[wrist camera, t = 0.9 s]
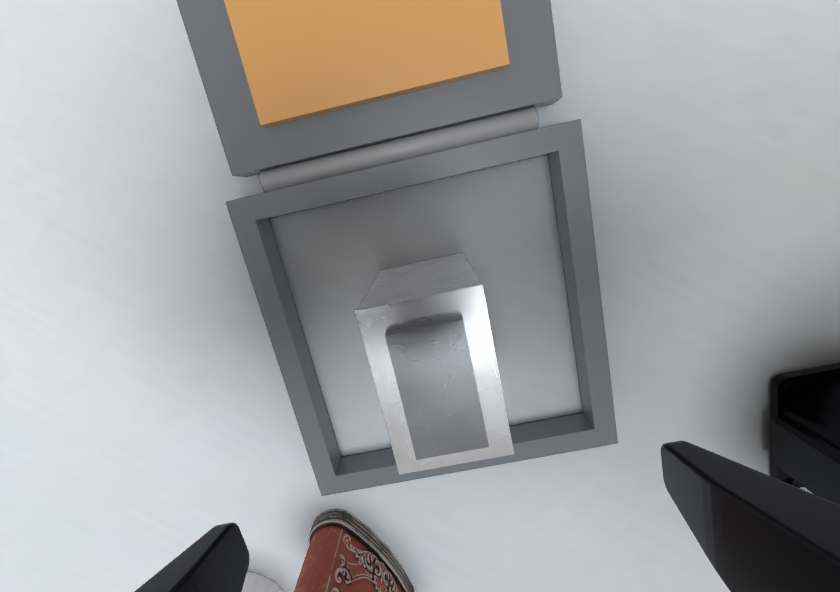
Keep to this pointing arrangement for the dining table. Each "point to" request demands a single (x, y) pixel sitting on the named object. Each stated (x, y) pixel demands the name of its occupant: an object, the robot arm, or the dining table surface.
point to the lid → (367, 79)
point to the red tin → (349, 558)
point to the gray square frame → (257, 209)
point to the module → (435, 364)
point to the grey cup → (259, 584)
